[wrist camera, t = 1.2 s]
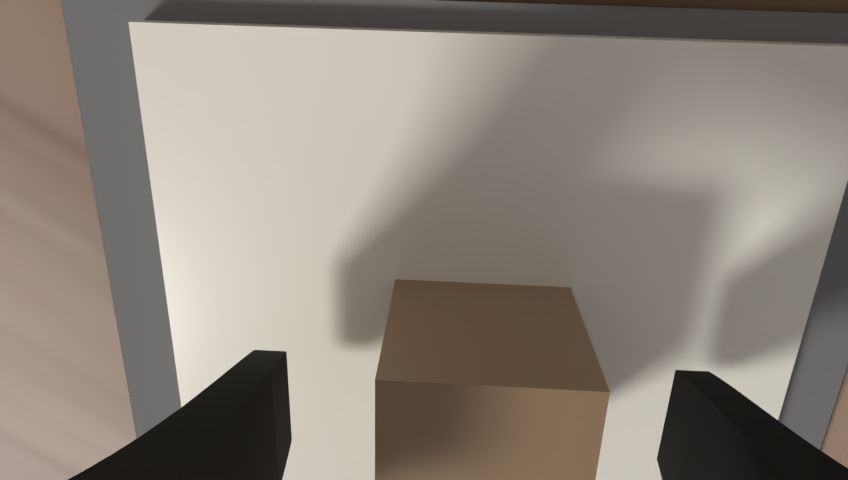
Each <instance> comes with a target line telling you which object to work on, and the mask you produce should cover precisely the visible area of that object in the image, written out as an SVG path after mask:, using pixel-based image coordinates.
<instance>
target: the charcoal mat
mask: <svg viewBox="0 0 848 480" xmlns="http://www.w3.org/2000/svg"><path fill="white" fill-rule="evenodd" d="M61 4H62V10H63V15H64V21H65V27H66V33H67V38H68V44H69V50H70V56H71V61H72V67H73V73H74V79H75V85H76V90H77V96H78V102H79V108H80V113H81V119H82V125H83V131H84V137H85V142H86V148H87V154H88V160H89V165H90V171H91V177H92V183H93V189H94V194H95V200H96V206H97V212H98V217H99V223H100V229H101V235H102V240H103V246H104V252H105V258H106V264H107V269H108V275H109V281H110V287H111V292H112V298H113V304H114V310H115V316H116V321H117V327H118V333H119V339H120V344H121V350H122V356H123V362H124V368H125V373H126V379H127V385H128V391H129V396H130V402H131V408H132V414H133V420H134V425H135V431H136V437H137V438H139V437H140V436H142V435H143V434H144V433H146V432H147V431H149V430H150V429H152V428H153V427H154V426H156V425H157V424H159V423H160V422H161V421H163V420H164V419H166V418H167V417H168V416H170V415H171V414H173V413H174V412H176V411H177V410H178V409H180V408H181V401H180V394H179V386H178V379H177V372H176V365H175V357H174V350H173V343H172V336H171V328H170V321H169V314H168V306H167V299H166V292H165V285H164V277H163V270H162V263H161V256H160V248H159V241H158V234H157V226H156V219H155V212H154V205H153V197H152V190H151V183H150V176H149V168H148V161H147V154H146V146H145V139H144V132H143V125H142V117H141V110H140V103H139V96H138V88H137V81H136V74H135V67H134V59H133V52H132V45H131V37H130V30H129V23H128V22H132V21H140V20H158V21H187V22H217V23H246V24H275V25H305V26H334V27H364V28H393V29H422V30H452V31H481V32H510V33H540V34H569V35H598V36H628V37H657V38H687V39H716V40H745V41H775V42H804V43H833V44H848V13H824V12H793V11H762V10H732V9H701V8H670V7H640V6H609V5H578V4H547V3H517V2H486V1H455V0H61ZM847 366H848V181H847V185H846V188H845V192H844V195H843V198H842V202H841V205H840V209H839V212H838V216H837V219H836V223H835V226H834V229H833V233H832V236H831V240H830V243H829V247H828V250H827V253H826V257H825V260H824V264H823V267H822V271H821V274H820V278H819V281H818V284H817V288H816V291H815V295H814V298H813V302H812V305H811V309H810V312H809V315H808V319H807V322H806V326H805V329H804V333H803V336H802V340H801V343H800V346H799V350H798V353H797V357H796V360H795V364H794V367H793V371H792V374H791V377H790V381H789V384H788V388H787V391H786V395H785V398H784V402H783V405H782V408H781V412H780V415H779V419H778V421H780V422H781V423H782V424H784V425H785V426H786V427H788V428H789V429H791V430H792V431H793V432H795V433H796V434H798V435H799V436H800V437H802V438H803V439H805V440H806V441H807V442H809V443H810V444H812V445H813V446H815V447H816V448H817V449H819V450H820V448H821V445H822V442H823V439H824V436H825V433H826V430H827V427H828V424H829V421H830V418H831V415H832V412H833V408H834V405H835V402H836V399H837V396H838V393H839V390H840V387H841V384H842V381H843V378H844V375H845V372H846V369H847Z"/></svg>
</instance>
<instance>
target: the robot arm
mask: <svg viewBox="0 0 848 480" xmlns="http://www.w3.org/2000/svg"><path fill="white" fill-rule="evenodd" d="M291 442H292V435H291V419H290V402H289V386H288V369H287V353H286V351H268V350H253V351H252V352H251V353H249V354H248V355H247V356H245V357H244V358H243V359H242V360H240V361H239V362H238V363H237V364H235V365H234V366H233V367H232V368H231V369H229V370H228V371H227V372H226V373H224V374H223V375H222V376H221V377H219V378H218V379H217V380H216V381H215V382H213V383H212V384H211V385H209V386H208V387H207V388H206V389H204V390H203V391H202V392H201V393H199V394H198V395H197V396H195V397H194V398H193V399H192V400H190V401H189V402H188V403H186V404H185V405H184V406H183V407H181V408H180V409H178V410H177V411H176V412H174V413H173V414H171V415H170V416H168V417H167V418H166V419H164V420H163V421H161V422H160V423H159V424H157V425H156V426H154V427H153V428H152V429H150V430H149V431H147V432H146V433H144V434H143V435H142V436H140V437H139V438H137V439H136V440H134V441H133V442H131V443H130V444H128V445H127V446H125V447H123V448H122V449H120V450H119V451H117V452H115V453H114V454H112V455H110V456H109V457H107V458H105V459H104V460H102V461H100V462H98V463H97V464H95V465H93V466H92V467H90V468H88V469H86V470H85V471H83V472H81V473H79V474H78V475H76V476H74V477H72V478H70V479H68V480H282V478H283V475H284V471H285V467H286V463H287V458H288V454H289V450H290V446H291ZM657 462H658V466H659V469H660V473H661V477H662V480H848V469H847V468H846V467H844V466H843V465H841V464H840V463H838V462H837V461H835V460H834V459H832V458H831V457H829V456H828V455H826V454H825V453H823V452H822V451H820V450H819V449H817V448H816V447H815V446H813V445H812V444H810V443H809V442H807V441H806V440H805V439H803V438H802V437H800V436H799V435H798V434H796V433H795V432H793V431H792V430H791V429H789V428H788V427H786V426H785V425H784V424H782V423H781V422H780V421H778V420H777V419H775V418H774V417H773V416H771V415H770V414H769V413H767V412H766V411H765V410H763V409H762V408H760V407H759V406H758V405H756V404H755V403H754V402H752V401H751V400H750V399H748V398H747V397H746V396H744V395H743V394H741V393H740V392H739V391H737V390H736V389H735V388H733V387H732V386H730V385H729V384H728V383H726V382H725V381H723V380H722V379H720V378H719V377H717V376H716V375H714V374H712V373H711V372H709V371H689V370H675V374H674V379H673V384H672V389H671V394H670V398H669V403H668V408H667V413H666V417H665V422H664V427H663V432H662V436H661V441H660V446H659V451H658V456H657Z"/></svg>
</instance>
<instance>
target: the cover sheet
mask: <svg viewBox="0 0 848 480" xmlns="http://www.w3.org/2000/svg"><path fill="white" fill-rule="evenodd" d="M128 23H129V30H130V37H131V45H132V52H133V59H134V67H135V74H136V81H137V88H138V96H139V103H140V110H141V117H142V125H143V132H144V139H145V146H146V154H147V161H148V168H149V176H150V183H151V190H152V197H153V205H154V212H155V219H156V226H157V234H158V241H159V248H160V256H161V263H162V270H163V277H164V285H165V292H166V299H167V306H168V314H169V321H170V328H171V336H172V343H173V350H174V357H175V365H176V372H177V379H178V386H179V394H180V401H181V407H183V406H184V405H185V404H186V403H188V402H189V401H190V400H192V399H193V398H194V397H195V396H197V395H198V394H199V393H201V392H202V391H203V390H204V389H206V388H207V387H208V386H209V385H211V384H212V383H213V382H215V381H216V380H217V379H218V378H219V377H221V376H222V375H223V374H224V373H226V372H227V371H228V370H229V369H231V368H232V367H233V366H234V365H235V364H237V363H238V362H239V361H240V360H242V359H243V358H244V357H245V356H247V355H248V354H249V353H251V352H252V351H253V350H268V351H286V353H287V369H288V386H289V402H290V419H291V435H292V442H291V446H290V450H289V454H288V458H287V463H286V467H285V471H284V475H283V478H282V480H662V477H661V473H660V469H659V466H658V462H657V456H658V451H659V446H660V441H661V436H662V432H663V427H664V422H665V417H666V413H667V408H668V403H669V398H670V394H671V389H672V384H673V379H674V374H675V370H689V371H709V372H711V373H712V374H714V375H716V376H717V377H719V378H720V379H722V380H723V381H725V382H726V383H728V384H729V385H730V386H732V387H733V388H735V389H736V390H737V391H739V392H740V393H741V394H743V395H744V396H746V397H747V398H748V399H750V400H751V401H752V402H754V403H755V404H756V405H758V406H759V407H760V408H762V409H763V410H765V411H766V412H767V413H769V414H770V415H771V416H773V417H774V418H775V419H777V420H778V419H779V415H780V412H781V408H782V405H783V402H784V398H785V395H786V391H787V388H788V384H789V381H790V377H791V374H792V371H793V367H794V364H795V360H796V357H797V353H798V350H799V346H800V343H801V340H802V336H803V333H804V329H805V326H806V322H807V319H808V315H809V312H810V309H811V305H812V302H813V298H814V295H815V291H816V288H817V284H818V281H819V278H820V274H821V271H822V267H823V264H824V260H825V257H826V253H827V250H828V247H829V243H830V240H831V236H832V233H833V229H834V226H835V223H836V219H837V216H838V212H839V209H840V205H841V202H842V198H843V195H844V192H845V188H846V185H847V181H848V44H833V43H804V42H775V41H745V40H716V39H687V38H657V37H628V36H598V35H569V34H540V33H510V32H481V31H452V30H422V29H393V28H364V27H334V26H305V25H275V24H246V23H217V22H187V21H158V20H140V21H132V22H128Z"/></svg>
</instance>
